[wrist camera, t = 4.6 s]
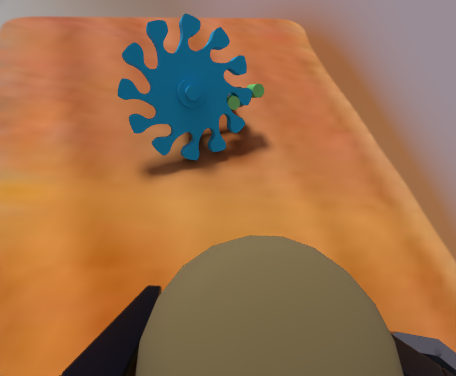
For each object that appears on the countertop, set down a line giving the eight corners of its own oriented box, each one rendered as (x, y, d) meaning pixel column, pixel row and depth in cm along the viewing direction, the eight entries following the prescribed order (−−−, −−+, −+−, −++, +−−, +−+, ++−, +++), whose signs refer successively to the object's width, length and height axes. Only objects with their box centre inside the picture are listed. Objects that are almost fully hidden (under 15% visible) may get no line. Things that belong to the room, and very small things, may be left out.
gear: (123, 164, 18) (110, -4, 15) (121, 150, 23) (111, 23, 20) (262, 159, 22) (273, 26, 19) (234, 148, 27) (240, 42, 24)
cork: (284, 310, 15) (481, 284, 5) (241, 440, 12) (507, 935, 2) (192, 259, 15) (214, 148, 6) (128, 372, 12) (-51, 542, 3)
